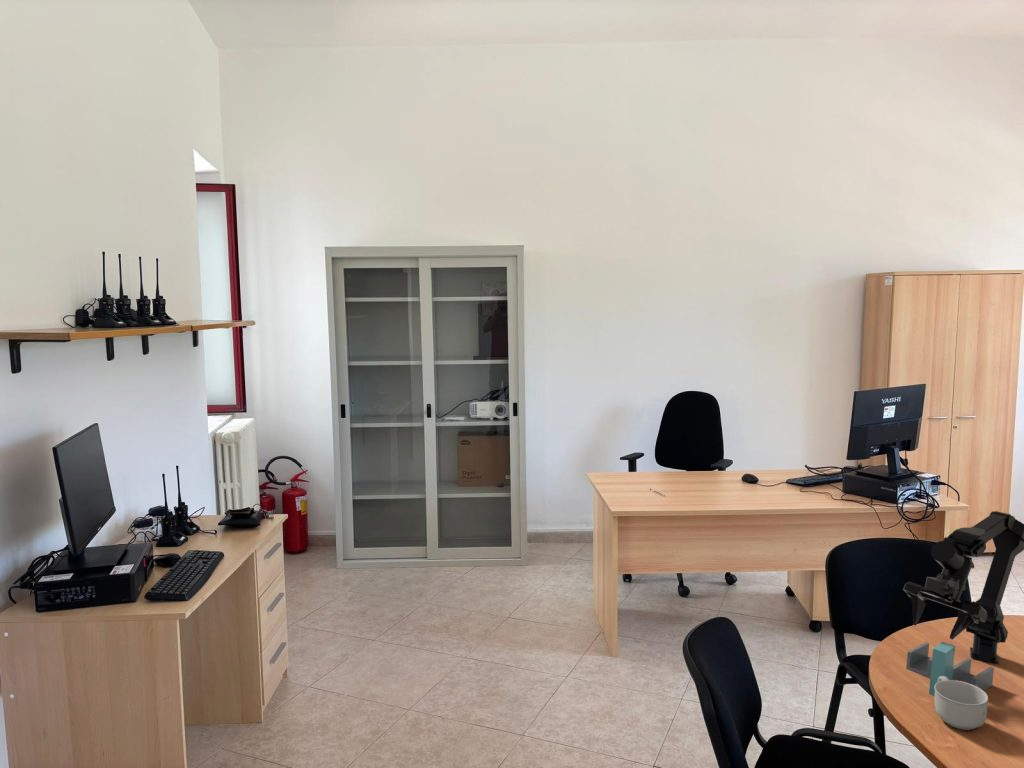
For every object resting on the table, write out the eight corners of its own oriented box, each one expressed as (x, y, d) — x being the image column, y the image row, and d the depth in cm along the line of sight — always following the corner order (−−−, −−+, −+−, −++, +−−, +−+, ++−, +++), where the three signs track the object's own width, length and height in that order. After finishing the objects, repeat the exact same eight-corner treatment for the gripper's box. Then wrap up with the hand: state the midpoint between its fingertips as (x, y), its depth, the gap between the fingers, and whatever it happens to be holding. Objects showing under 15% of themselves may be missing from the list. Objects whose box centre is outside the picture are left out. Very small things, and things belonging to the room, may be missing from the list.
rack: (924, 658, 205) (926, 642, 205) (992, 685, 191) (993, 667, 191) (906, 668, 200) (907, 651, 199) (974, 696, 186) (975, 678, 185)
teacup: (993, 738, 168) (996, 705, 167) (941, 732, 170) (944, 700, 169) (968, 705, 182) (971, 675, 181) (920, 700, 184) (923, 670, 183)
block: (938, 685, 191) (942, 641, 189) (951, 690, 189) (955, 646, 187) (929, 693, 187) (933, 648, 186) (941, 698, 185) (946, 653, 183)
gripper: (905, 553, 196) (883, 607, 193) (981, 576, 180) (958, 635, 177) (922, 569, 201) (901, 622, 198) (997, 592, 186) (975, 650, 183)
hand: (932, 631), depth 189 cm, fingers open, 9 cm apart
